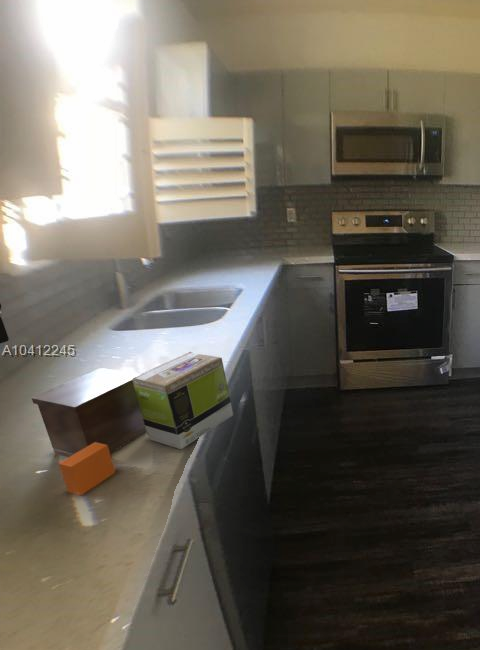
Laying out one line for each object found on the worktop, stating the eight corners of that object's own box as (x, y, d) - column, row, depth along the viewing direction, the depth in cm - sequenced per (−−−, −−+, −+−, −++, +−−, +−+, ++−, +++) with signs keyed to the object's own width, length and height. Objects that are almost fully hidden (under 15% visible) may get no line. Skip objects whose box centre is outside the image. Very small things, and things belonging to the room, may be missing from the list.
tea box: (202, 408, 108) (190, 349, 102) (234, 416, 104) (224, 356, 98) (146, 440, 95) (130, 376, 90) (180, 451, 91) (165, 384, 86)
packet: (68, 491, 80) (58, 463, 78) (103, 468, 87) (95, 441, 84) (80, 495, 79) (71, 466, 77) (115, 472, 85) (107, 444, 83)
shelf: (51, 454, 91) (31, 397, 87) (115, 419, 104) (101, 367, 99) (93, 466, 87) (74, 407, 83) (154, 427, 100) (141, 374, 95)
